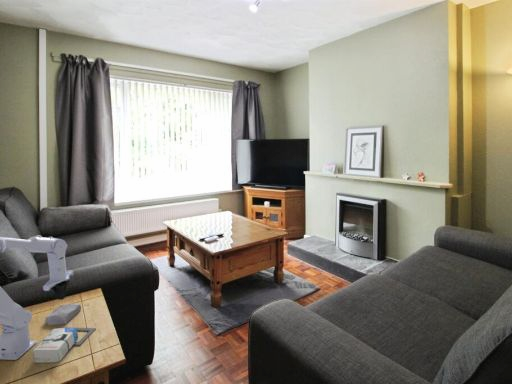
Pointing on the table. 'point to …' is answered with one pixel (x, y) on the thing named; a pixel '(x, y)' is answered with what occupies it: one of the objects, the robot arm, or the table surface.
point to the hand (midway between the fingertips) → (61, 298)
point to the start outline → (85, 335)
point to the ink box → (55, 345)
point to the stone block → (63, 314)
